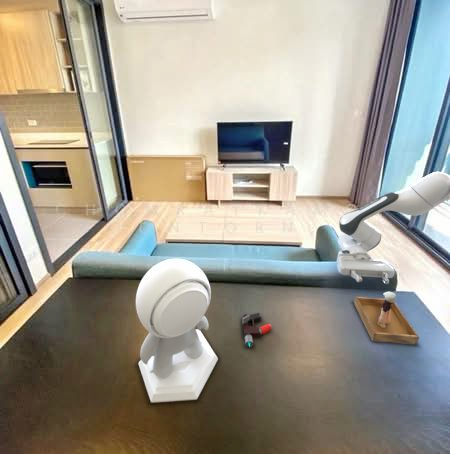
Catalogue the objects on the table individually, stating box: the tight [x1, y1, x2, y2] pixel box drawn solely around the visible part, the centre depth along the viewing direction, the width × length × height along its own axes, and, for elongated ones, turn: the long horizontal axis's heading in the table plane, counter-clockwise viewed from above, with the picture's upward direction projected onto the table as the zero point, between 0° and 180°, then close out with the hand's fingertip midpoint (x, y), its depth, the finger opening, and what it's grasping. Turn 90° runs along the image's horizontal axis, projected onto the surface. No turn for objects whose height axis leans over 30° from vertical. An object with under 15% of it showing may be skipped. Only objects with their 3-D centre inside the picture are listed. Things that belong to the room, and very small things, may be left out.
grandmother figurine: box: [377, 291, 397, 328], centre depth 83 cm, size 8×4×13 cm, turn 148°
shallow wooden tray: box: [353, 296, 420, 345], centre depth 85 cm, size 13×15×4 cm
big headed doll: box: [135, 258, 219, 404], centre depth 66 cm, size 20×23×35 cm
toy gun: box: [241, 312, 272, 348], centre depth 81 cm, size 10×12×5 cm
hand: (373, 281), depth 92 cm, fingers open, 8 cm apart
